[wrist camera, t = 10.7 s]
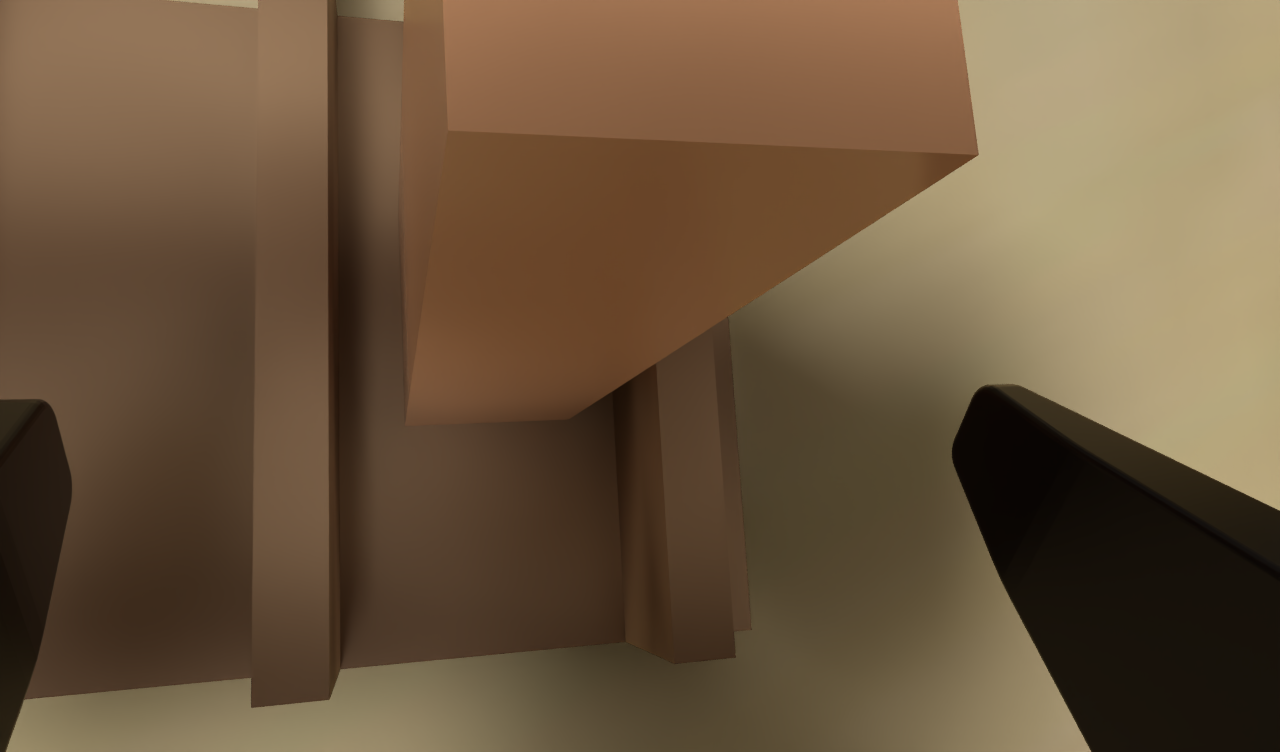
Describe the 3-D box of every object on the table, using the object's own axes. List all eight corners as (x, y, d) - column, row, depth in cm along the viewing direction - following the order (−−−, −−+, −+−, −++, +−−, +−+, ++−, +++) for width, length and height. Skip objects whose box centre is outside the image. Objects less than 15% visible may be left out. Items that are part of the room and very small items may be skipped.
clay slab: (568, 419, 17) (978, 155, 5) (405, 426, 16) (449, 131, 4) (556, 216, 18) (897, -433, 6) (397, 213, 17) (419, -551, 5)
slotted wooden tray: (729, 623, 18) (822, 648, 14) (-227, 713, 14) (-468, 781, 10) (690, 76, 20) (763, -36, 16) (-164, 7, 16) (-346, -168, 12)
